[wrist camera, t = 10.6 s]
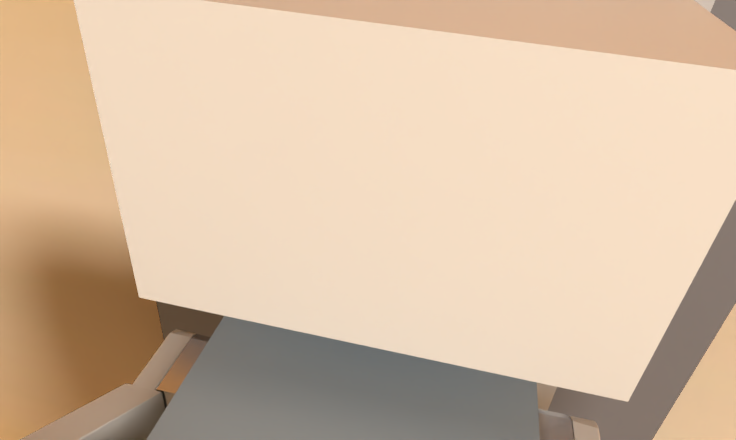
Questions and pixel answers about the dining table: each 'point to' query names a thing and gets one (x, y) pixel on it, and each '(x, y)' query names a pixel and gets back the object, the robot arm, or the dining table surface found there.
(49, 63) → the dining table surface
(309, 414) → the block
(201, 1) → the rail plate
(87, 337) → the dining table surface
